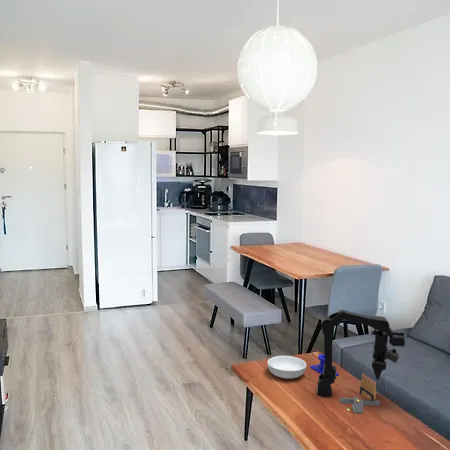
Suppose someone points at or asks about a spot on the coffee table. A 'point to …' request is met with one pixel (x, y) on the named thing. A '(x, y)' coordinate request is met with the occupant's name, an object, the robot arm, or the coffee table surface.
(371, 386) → the ammunition clip
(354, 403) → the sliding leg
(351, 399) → the hole plate
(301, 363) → the serving bowl
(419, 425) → the coffee table surface
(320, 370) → the mount
